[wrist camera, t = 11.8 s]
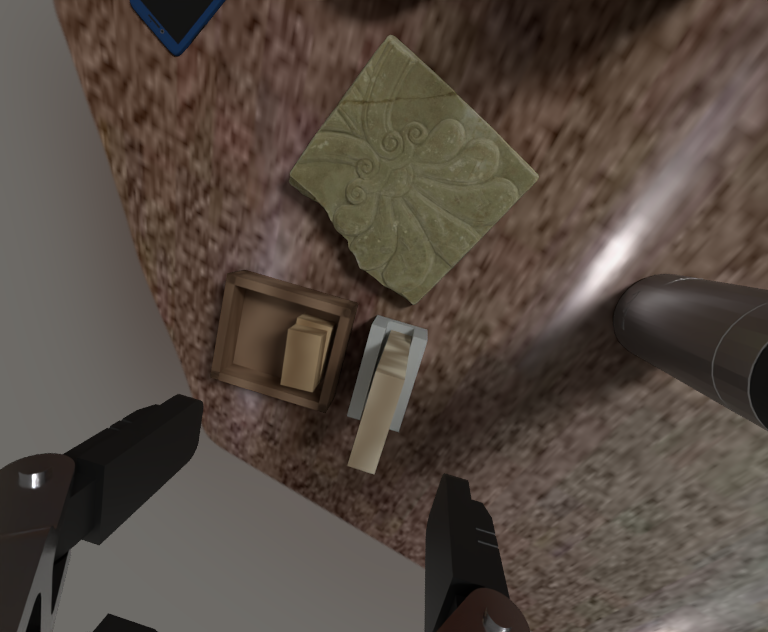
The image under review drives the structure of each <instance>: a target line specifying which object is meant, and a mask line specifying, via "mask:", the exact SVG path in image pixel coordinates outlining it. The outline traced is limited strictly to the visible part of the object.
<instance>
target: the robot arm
mask: <svg viewBox="0 0 768 632" xmlns="http://www.w3.org/2000/svg"><path fill="white" fill-rule="evenodd" d="M613 325H614V331H615V334H616V336H617V339H618V340H619V341H620V343H621V344H622V346H624V347H625V348H626V349H627V350H628V351H630V352H631V353H633V354H635V355H637V356H638V357H640V358H642V359H643V360H645V361H647V362H649V363H650V364H652V365H653V366H655V367H657V368H659V369H660V370H662V371H664V372H666V373H667V374H669V375H671V376H673V377H674V378H676V379H678V380H679V381H681V382H683V383H685V384H686V385H688V386H690V387H692V388H693V389H695V390H697V391H699V392H700V393H702V394H704V395H705V396H707V397H709V398H711V399H712V400H714V401H716V402H718V403H719V404H721V405H723V406H724V407H726V408H728V409H730V410H731V411H733V412H735V413H737V414H738V415H740V416H742V417H744V418H746V419H747V420H749V421H751V422H753V423H754V424H756V425H758V426H760V427H761V428H763V429H765V430H767V431H768V290H765V289H759V288H753V287H747V286H741V285H735V284H728V283H722V282H716V281H710V280H704V279H699V278H693V277H687V276H680V275H673V274H660V275H654V276H651V277H647V278H644V279H643V280H641V281H639V282H637V283H635V284H634V285H633V286H632V287H630V288H629V289H628V290H627V291H626V292H625V293H624V294H623V296H622V297H621V298H620V300H619V302H618V304H617V306H616V309H615V312H614V319H613ZM202 413H203V402H202V401H201V400H198V399H194V398H191V397H187V396H184V395H181V394H177V395H175V396H173V397H172V398H170V399H169V400H167V401H165V402H164V403H162V404H161V405H156V404H155V405H152V406H149V407H146V408H142V409H139V410H136V411H135V412H133V413H131V414H130V415H128V416H126V417H125V418H123V419H122V421H118V422H116V423H115V424H113V425H111V426H110V428H106V429H105V430H103V431H101V432H99V433H98V434H96V435H95V436H93V437H91V438H90V439H88V440H86V441H84V442H83V443H81V444H79V445H78V446H76V447H74V448H73V449H71V450H69V451H68V452H66V453H64V454H57V453H44V454H36V455H32V456H28V457H24V458H21V459H19V460H16V461H14V462H12V463H10V464H8V465H6V466H5V467H3V468H2V469H0V632H53V628H54V623H55V619H56V615H57V611H58V607H59V602H60V598H61V594H62V590H63V586H64V582H65V578H66V574H67V569H68V565H69V561H70V556H71V548H72V547H73V546H75V545H76V544H77V543H78V542H79V541H80V540H81V539H82V540H85V541H88V542H91V543H94V544H97V545H100V544H101V543H102V542H103V541H104V540H105V539H106V538H108V537H109V536H110V535H111V534H112V533H113V532H114V531H115V530H116V529H117V528H118V527H119V526H120V525H121V524H123V523H124V522H125V521H126V520H127V519H128V518H129V517H130V516H131V515H132V514H133V513H134V512H135V511H136V510H137V509H138V508H140V507H141V506H142V505H143V504H144V503H145V502H146V501H147V500H148V499H149V498H150V497H151V496H152V495H153V494H155V493H156V492H157V491H158V490H159V489H160V488H161V487H162V486H163V485H164V484H165V483H166V482H167V481H168V480H169V479H171V478H172V477H173V476H174V475H175V474H176V473H177V472H178V471H179V470H180V469H181V468H182V467H183V466H184V465H185V464H187V462H188V461H189V460H190V459H191V458H192V456H193V455H194V453H195V450H196V449H197V446H198V441H199V434H200V428H201V421H202ZM93 632H157V631H156V630H155V629H153V628H150V627H146V626H144V625H141V624H138V623H135V622H132V621H129V620H126V619H123V618H120V617H117V616H114V615H112V614H107V616H106V617H105V618H104V619H103V621H102V622H101V623H100V624H99V625H98V626H97V628H96V629H95V630H94V631H93ZM425 632H530V629H529V626H528V623H527V621H526V619H525V617H524V615H523V614H522V612H521V611H520V609H519V608H518V607H517V606H516V605H515V604H514V603H513V602H512V601H511V600H510V598H509V593H508V589H507V584H506V580H505V575H504V571H503V566H502V562H501V557H500V553H499V549H498V544H497V539H496V536H495V530H494V526H493V521H492V517H491V516H490V514H489V513H488V511H487V510H486V508H485V506H484V505H483V503H481V502H478V501H475V500H471V494H470V488H469V482H468V480H465V479H462V478H458V477H455V476H451V475H448V474H445V473H444V474H443V476H442V478H441V481H440V484H439V487H438V490H437V493H436V496H435V499H434V502H433V505H432V508H431V511H430V514H429V518H428V523H427V529H426V557H425Z"/></svg>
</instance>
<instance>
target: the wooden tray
mask: <svg viewBox="0 0 768 632" xmlns="http://www.w3.org/2000/svg"><path fill="white" fill-rule="evenodd" d="M357 307H358V303H357V302H353V301H350V300H347V299H343V298H340V297H336V296H333V295H330V294H326V293H323V292H319V291H316V290H312V289H309V288H306V287H302V286H299V285H295V284H292V283H288V282H285V281H282V280H278V279H275V278H271V277H268V276H265V275H261V274H258V273H254V272H251V271H247V270H242V271H237V272H232V273H227V278H226V284H225V290H224V296H223V302H222V308H221V314H220V320H219V326H218V333H217V339H216V345H215V351H214V357H213V363H212V369H211V375H210V378H213V379H216V380H220V381H223V382H226V383H229V384H232V385H236V386H239V387H242V388H245V389H249V390H252V391H255V392H258V393H262V394H265V395H268V396H271V397H274V398H278V399H281V400H284V401H287V402H291V403H294V404H297V405H300V406H304V407H307V408H310V409H313V410H316V411H320V412H323V413H326V411H327V409H328V408H329V406H330V404H331V402H332V400H333V399H334V396H335V392H336V388H337V384H338V380H339V377H340V373H341V369H342V365H343V361H344V357H345V353H346V350H347V346H348V342H349V338H350V334H351V330H352V326H353V323H354V319H355V315H356V311H357ZM304 313H305V314H309V315H312V316H315V317H319V318H322V319H325V320H329V321H332V322H336V323H337V325H336V329H335V334H334V338H333V342H332V346H331V350H330V354H329V358H328V362H327V366H326V370H325V374H324V377H323V379H322V380H321V382H320V383H319V384H318V385H317V387H316V388H315V389H314V391H313V392H309V391H305V390H300V389H296V388H292V387H288V386H284V385H280V384H281V377H282V370H283V363H284V356H285V349H286V342H287V334H288V329H289V328H290V327H292V326H293V325H295V324H296V322H297V318H298V317H299V316H301V315H302V314H304Z"/></svg>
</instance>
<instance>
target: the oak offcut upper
mask: <svg viewBox="0 0 768 632" xmlns="http://www.w3.org/2000/svg"><path fill="white" fill-rule="evenodd" d="M326 336H327V331H326V330H321V329H317V328H313V327H308V326H304V325H299V324H295V325H293V326H292V327H290V328H289V329H288V334H287V342H286V349H285V356H284V363H283V370H282V377H281V384H280V385H284V386H288V387H292V388H296V389H300V390H305V391H309V392H313V391H314V389H315V388H316V387H317V385H318V384H319V378H320V372H321V366H322V360H323V354H324V348H325V342H326Z"/></svg>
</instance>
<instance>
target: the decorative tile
mask: <svg viewBox="0 0 768 632" xmlns="http://www.w3.org/2000/svg"><path fill="white" fill-rule="evenodd" d="M538 177H539V176H538V175H537V173H536V172H535V171H534V170H533V169H532V168H531V167H530V166H529V165H528V164H527V163H526V162H525V161H524V160H523V159H522V158H521V157H520V156H519V155H518V154H517V153H516V152H515V151H514V150H513V149H512V148H511V147H510V146H509V145H508V144H507V143H506V142H505V141H504V140H503V139H502V138H501V137H500V135H499V134H498V133H497V132H496V131H495V130H494V129H493V128H492V127H491V126H490V125H489V124H488V123H487V122H486V121H484V120H483V119H482V118H481V117H480V116H479V115H478V114H477V113H476V112H475V111H474V110H473V109H472V108H471V107H470V106H469V105H468V104H467V103H466V102H464V101H463V100H462V99H461V97H460V96H458V95H457V94H456V92H455V91H454V90H453V89H452V88H451V87H450V86H449V85H448V84H446V83H445V82H444V81H443V80H442V79H441V78H440V77H439V76H438V75H437V74H436V73H435V72H434V71H432V70H431V69H430V68H429V67H428V66H427V65H426V64H425V63H424V62H422V61H421V60H420V59H419V58H418V57H417V56H416V55H415V54H414V53H413V52H411V51H410V50H409V49H408V48H407V47H406V46H405V45H404V44H403V43H402V42H400V41H399V40H398V39H397V38H396V37H395V36H392V35H390V36H388V37H387V38H386V40H385V41H384V42H383V44H382V45H381V46H380V47H379V48H378V49H377V51H376V52H375V53H374V55H373V56H372V58H371V59H370V60H369V62H368V63H367V64H366V66H365V67H364V69H363V70H362V71H361V73H360V74H359V76H358V77H357V79H356V80H355V81H354V83H353V84H352V86H351V87H350V88H349V90H348V91H347V92H346V94H345V95H344V96H343V98H342V99H341V101H340V102H339V104H338V105H337V107H336V108H335V109H334V111H333V112H332V113H331V115H330V116H329V117H328V118H327V120H326V121H325V122H324V124H323V125H322V127H321V128H320V129H319V131H318V132H317V133H316V135H315V136H314V138H313V139H312V141H311V142H310V143H309V145H308V146H307V148H306V149H305V151H304V152H303V154H302V155H301V157H300V158H299V160H298V161H297V163H296V164H295V166H294V167H293V169H292V170H291V172H290V179H289V183H290V184H291V185H292V186H293V187H294V188H296V189H297V190H298V191H299V192H300V193H301V194H303V195H305V196H307V197H309V198H310V199H312V200H314V201H315V202H318V203H319V204H320V205H321V206H322V207H324V209H325V211H326V212H327V213H328V216H329V218H330V220H331V221H332V222H333V225H334V227H335V229H336V230H337V232H339V233H340V234H341V235H342V236H343V237H344V238H346V239H347V240H348V247H349V250H350V251H351V252H352V253H353V254H354V256H355V258H356V260H357V262H358V265H359V267H360V269H362V270H364V271H366V272H368V273H369V274H370V275H371V276H373V277H374V278H376V279H377V280H378V281H379V282H380V283H381V284H382V285H384V286H385V287H387V288H390V289H392V290H393V291H395V292H396V293H397V294H399V295H401V296H403V297H404V298H406V299H407V300H408V301H409V302H411V303H412V304H413V305H415V304H416V303H418V302H419V301H420V300H421V299H422V298H423V297H424V296H425V295H426V294H427V293H428V292H429V291H430V290H431V289H432V288H433V287H434V286H435V285H436V284H437V283H438V282H439V281H440V280H441V279H442V278H443V277H444V276H445V275H446V274H447V273H448V272H449V271H450V270H451V269H452V268H453V267H454V266H455V265H456V264H457V263H458V262H459V261H460V260H461V259H462V258H463V257H464V256H465V255H466V254H467V253H468V252H469V251H470V250H471V249H472V248H473V247H474V245H475V244H476V243H477V242H478V241H479V240H480V239H481V238H482V237H483V236H484V235H485V234H486V233H487V232H488V231H489V230H490V229H491V228H492V227H493V226H494V225H495V224H496V223H497V222H498V221H499V220H500V219H501V218H502V217H503V216H504V214H505V213H506V212H507V211H508V210H509V209H510V208H511V207H512V206H513V205H514V204H515V203H516V202H517V201H518V200H519V199H520V198H521V197H522V196H523V195H524V194H525V193H526V192H527V191H528V190H529V189H530V188H531V187H532V186H533V185H534V184H535V182H536V181H537V180H538Z"/></svg>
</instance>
